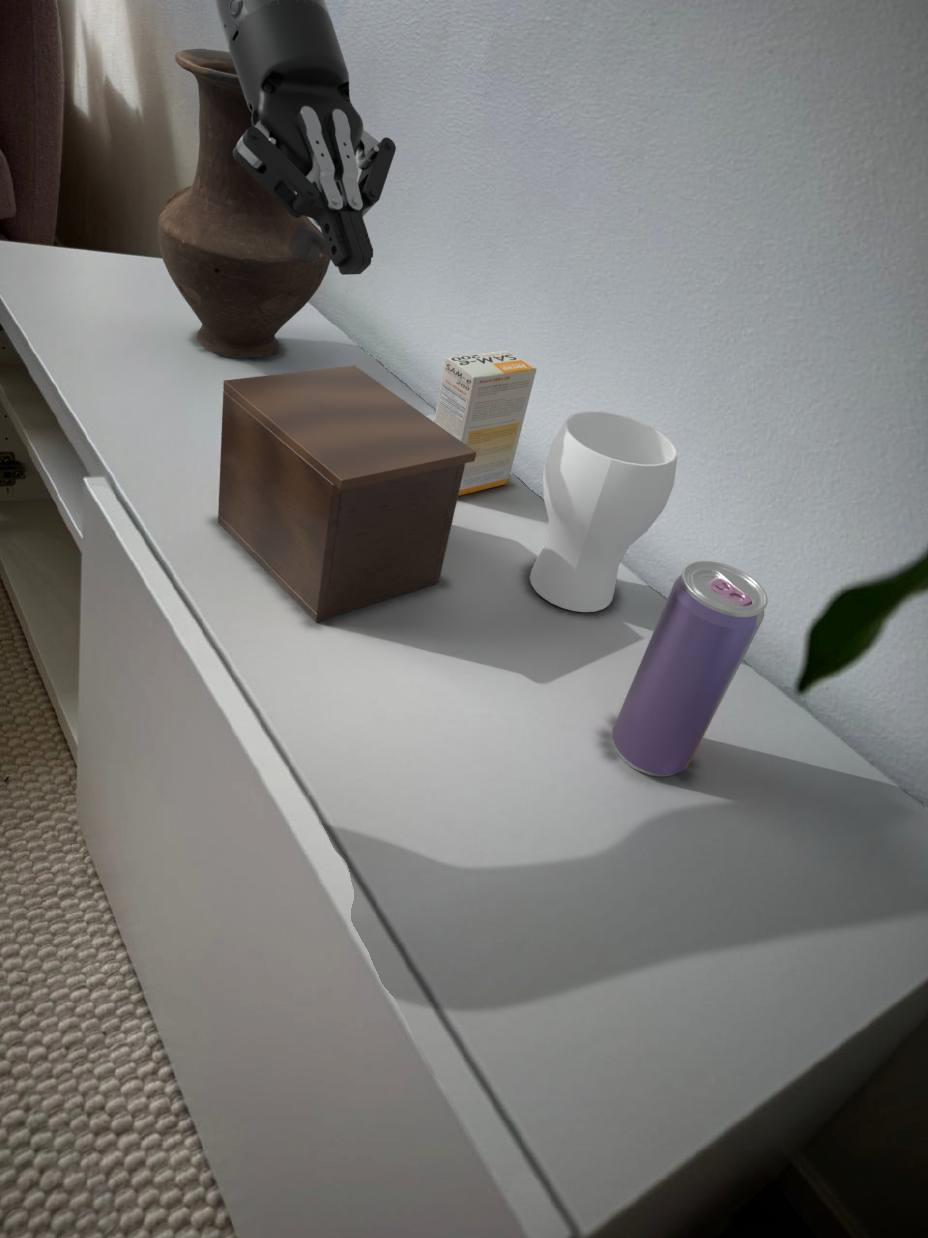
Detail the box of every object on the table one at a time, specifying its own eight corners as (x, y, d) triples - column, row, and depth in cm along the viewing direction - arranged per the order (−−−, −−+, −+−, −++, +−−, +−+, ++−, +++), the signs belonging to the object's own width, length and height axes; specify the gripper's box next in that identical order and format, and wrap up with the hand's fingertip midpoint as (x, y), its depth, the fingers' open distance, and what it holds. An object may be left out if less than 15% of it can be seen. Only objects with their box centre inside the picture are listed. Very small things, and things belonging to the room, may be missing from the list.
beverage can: (653, 793, 61) (735, 624, 53) (592, 738, 65) (660, 570, 56) (704, 762, 65) (789, 599, 56) (644, 712, 68) (716, 550, 59)
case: (438, 583, 76) (467, 456, 69) (315, 622, 69) (333, 484, 62) (337, 495, 85) (353, 374, 78) (217, 522, 77) (222, 390, 70)
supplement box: (480, 464, 96) (507, 348, 88) (508, 485, 93) (539, 367, 86) (420, 476, 91) (443, 354, 83) (449, 499, 89) (476, 375, 81)
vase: (128, 321, 108) (122, 32, 90) (266, 310, 120) (283, 53, 102) (209, 387, 98) (219, 76, 80) (350, 368, 110) (385, 95, 92)
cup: (645, 589, 82) (702, 444, 74) (598, 639, 75) (656, 484, 66) (547, 541, 86) (590, 397, 77) (492, 584, 78) (534, 429, 69)
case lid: (474, 461, 69) (477, 452, 68) (340, 490, 61) (342, 480, 61) (353, 373, 78) (354, 364, 77) (222, 389, 70) (223, 380, 69)
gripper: (332, 77, 69) (401, 290, 70) (173, 56, 61) (253, 297, 62) (382, 9, 64) (457, 242, 64) (213, -23, 55) (300, 244, 56)
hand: (356, 269), depth 63 cm, fingers closed
